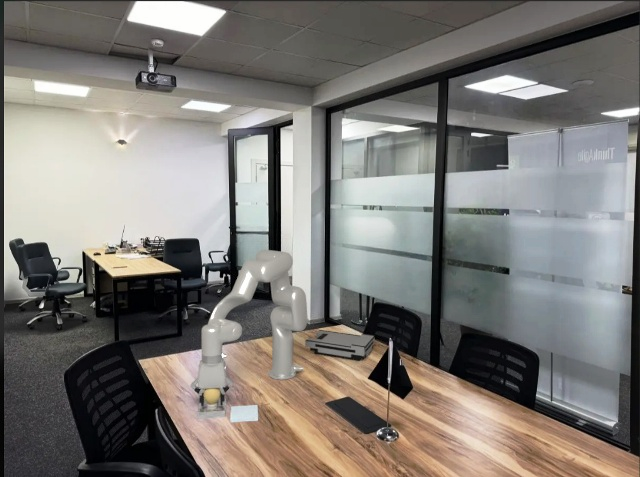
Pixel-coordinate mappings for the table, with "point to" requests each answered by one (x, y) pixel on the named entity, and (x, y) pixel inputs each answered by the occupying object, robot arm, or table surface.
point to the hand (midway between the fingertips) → (212, 403)
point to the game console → (341, 345)
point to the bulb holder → (211, 411)
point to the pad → (244, 413)
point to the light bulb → (212, 398)
